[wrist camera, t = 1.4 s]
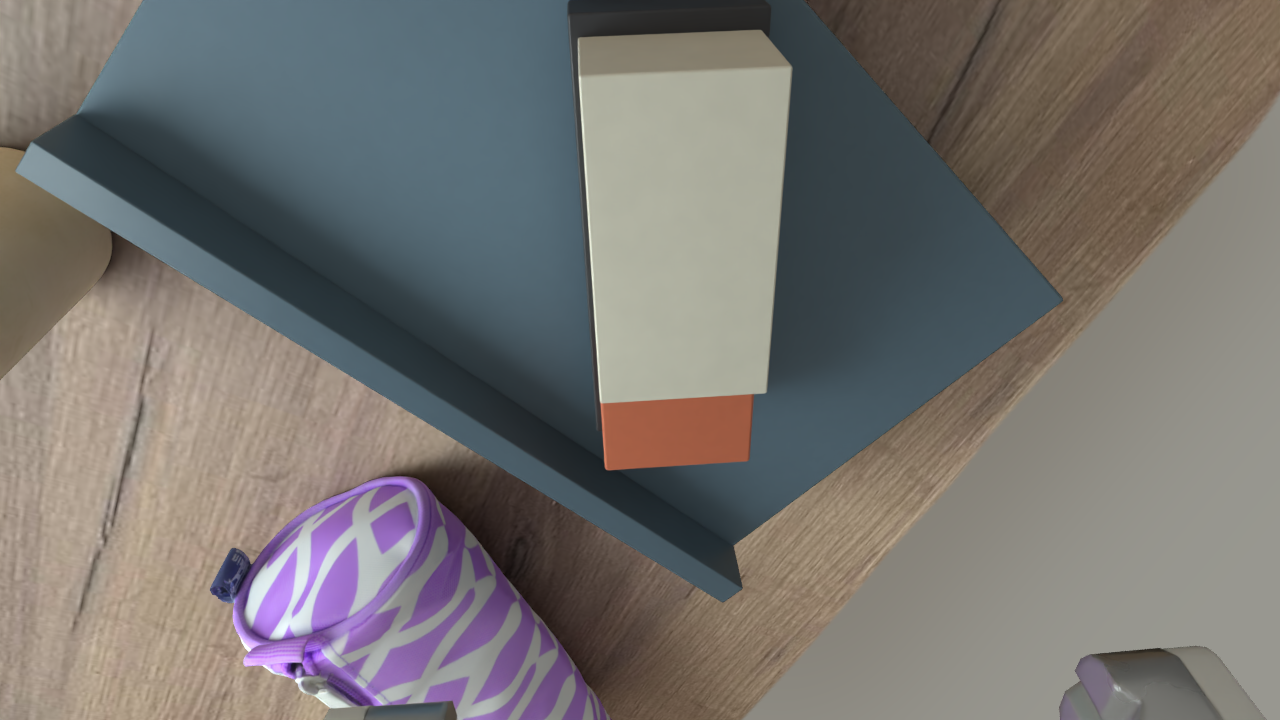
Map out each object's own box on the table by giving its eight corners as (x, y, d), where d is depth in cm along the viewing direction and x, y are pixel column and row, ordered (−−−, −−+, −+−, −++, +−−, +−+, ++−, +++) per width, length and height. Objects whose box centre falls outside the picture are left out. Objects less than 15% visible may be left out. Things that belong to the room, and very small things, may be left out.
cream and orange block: (567, 0, 19) (566, 49, 15) (759, -8, 19) (806, 38, 16) (595, 402, 26) (599, 506, 22) (737, 394, 26) (766, 495, 22)
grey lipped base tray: (449, -390, 20) (388, -489, 13) (984, 219, 30) (1100, 335, 23) (159, 76, 25) (13, 171, 19) (694, 455, 36) (723, 603, 29)
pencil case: (243, 500, 35) (150, 697, 27) (427, 421, 33) (383, 607, 26) (504, 745, 47) (491, 932, 39) (650, 696, 45) (666, 881, 37)
